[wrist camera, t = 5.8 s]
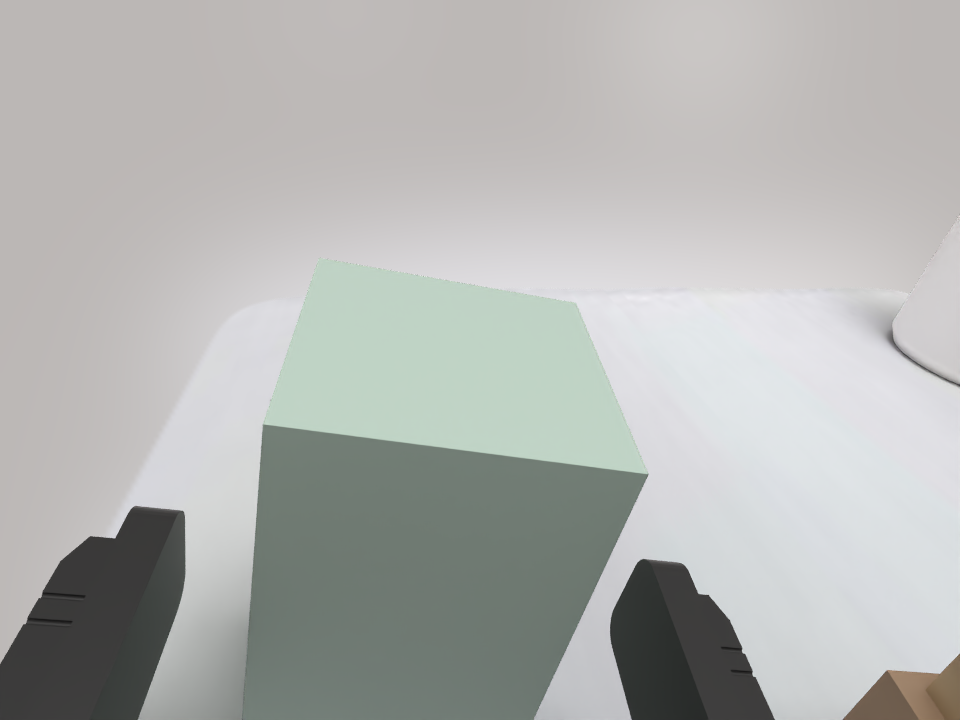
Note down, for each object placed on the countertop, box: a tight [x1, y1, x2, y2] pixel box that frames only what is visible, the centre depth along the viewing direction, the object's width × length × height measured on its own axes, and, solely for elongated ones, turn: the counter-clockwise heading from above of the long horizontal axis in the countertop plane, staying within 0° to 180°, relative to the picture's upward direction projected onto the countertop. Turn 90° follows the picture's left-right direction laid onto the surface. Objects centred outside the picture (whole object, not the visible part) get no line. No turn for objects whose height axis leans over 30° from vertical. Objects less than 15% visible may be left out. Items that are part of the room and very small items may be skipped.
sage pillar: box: [242, 258, 648, 720], centre depth 13 cm, size 5×5×10 cm
